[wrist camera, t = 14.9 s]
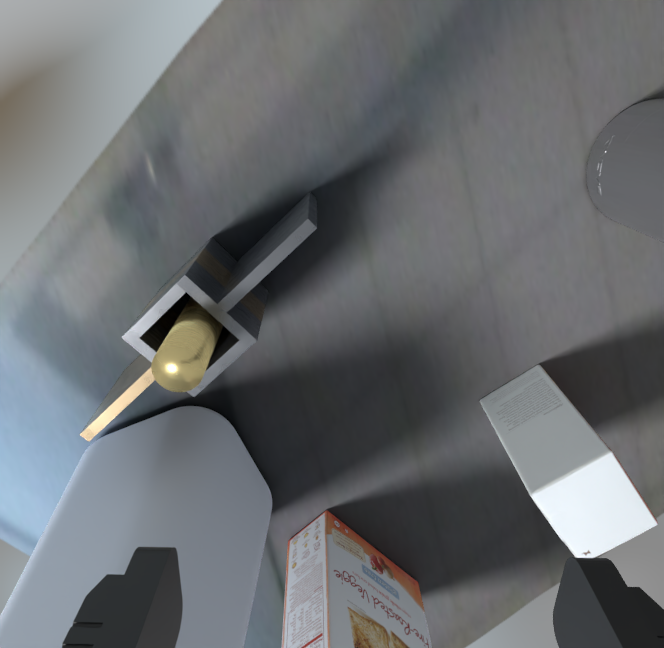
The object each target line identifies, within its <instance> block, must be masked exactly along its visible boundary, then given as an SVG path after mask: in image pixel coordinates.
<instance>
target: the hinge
mask: <svg viewBox="0 0 664 648" xmlns="http://www.w3.org/2000/svg"><path fill="white" fill-rule="evenodd" d="M316 229H317V199H316V198H315V197H314V196H313V195H312V194H311V192H309V193H308V194H307V195H306V196H305V197H304V198H303V199H302V200H301V201H299V202H298V203H297V204H296V205H295V206H294V207H293V208H292V209H291V210H290V211H289V212H288V213H287V214H286V215H285V216H284V217H283V218H282V219H281V220H280V221H279V222H278V223H277V224H276V225H275V226H273V227H272V228H271V229H270V230H269V231H268V232H267V233H266V234H265V235H264V236H263V237H262V238H261V239H260V240H259V241H258V242H257V243H256V244H255V245H254V246H253V247H252V248H251V249H250V250H249V251H248V252H246V253H245V254H244V255H243V256H242V257H241V258H240V259H239V260H238V261H237V260H235V259H234V258H233V257H232V256H231V255H230V254H229V253H228V252H227V251H226V250H225V249H224V248H223V247H222V246H221V245H220V244H219V243H218V242H217V241H216V240H215V239H214V238H211V239H210V240H209V241H208V242H207V243H206V244H205V245H204V246H203V247H202V248H201V249H200V250H199V251H198V252H197V253H196V254H195V255H194V256H193V257H192V258H191V259H190V260H189V261H188V262H187V263H186V264H185V265H184V266H183V267H182V268H181V269H180V270H179V271H178V272H177V273H176V274H175V275H173V276H172V277H171V278H170V279H169V280H168V281H167V282H166V283H165V284H164V285H163V286H162V287H161V288H160V290H159V291H158V292H157V293H156V295H155V296H154V297H153V298H152V300H151V301H150V302H149V304H148V305H147V306H146V307H145V309H144V310H143V311H142V312H141V314H140V315H139V316H138V317H137V319H136V320H135V321H134V322H133V324H132V325H131V326H130V328H129V329H128V330H127V331H126V333H125V334H124V335H123V336H122V338H123V339H124V340H125V341H126V342H127V343H129V344H130V345H131V346H132V347H133V348H135V349H136V350H137V351H138V352H139V353H141V355H140V356H138V357H137V358H136V359H135V360H134V361H133V362H132V363H131V364H130V365H129V366H128V367H127V368H126V369H125V370H124V371H123V373H122V374H121V376H120V377H119V378H118V380H117V381H116V383H115V384H114V386H113V387H112V389H111V390H110V391H109V393H108V394H107V396H106V397H105V399H104V400H103V402H102V403H101V404H100V406H99V407H98V409H97V410H96V412H95V413H94V415H93V416H92V418H91V419H90V420H89V422H88V423H87V425H86V426H85V428H84V429H83V431H82V432H81V433H80V435H81V436H82V437H83V438H85V439H86V440H87V441H90V440H91V439H92V438H93V437H94V436H95V435H97V434H98V433H99V432H100V431H101V430H102V429H103V428H104V427H105V426H106V425H107V424H108V423H109V422H110V421H112V420H113V419H114V418H115V417H116V416H117V415H118V414H119V413H120V412H121V411H122V410H123V409H124V408H125V407H126V406H128V405H129V404H130V403H131V402H132V401H133V400H134V399H135V398H136V397H137V396H138V395H139V394H140V393H141V392H143V391H144V390H145V389H146V388H147V387H148V386H149V385H150V384H151V383H152V382H153V381H154V380H155V378H154V376H153V374H152V370H151V364H152V360H153V358H154V356H155V354H156V353H157V351H158V350H159V348H160V346H161V345H162V343H163V341H164V340H165V338H166V337H167V335H168V333H169V332H170V330H171V328H172V327H173V325H174V323H175V322H176V320H177V319H178V317H179V315H180V314H181V312H182V310H183V309H184V307H185V306H186V304H187V302H188V301H187V300H186V299H185V298H184V297H183V295H184V294H185V293H186V292H187V293H188V294H189V295H190V296H191V297H192V298H193V299H194V300H196V301H197V302H198V303H199V304H200V305H201V306H202V307H203V308H204V309H206V310H207V311H208V312H209V313H210V314H211V315H212V316H213V317H214V318H216V319H217V320H218V321H219V322H220V323H221V324H222V325H223V328H222V330H221V333H220V335H219V338H218V341H217V343H216V346H215V348H214V351H213V353H212V356H211V358H210V361H209V363H208V366H207V368H206V371H205V373H204V376H203V378H202V380H201V382H200V383H199V385H198V386H196V387H195V388H194V389H192V390H190V391H187V392H188V393H189V394H190V395H192V396H193V397H195V396H196V395H197V394H198V393H199V392H200V391H201V390H203V389H204V388H205V387H206V386H207V385H208V384H209V383H210V382H211V381H213V380H214V379H215V378H216V377H217V376H218V375H219V374H220V373H221V372H223V371H224V370H225V369H226V368H227V367H228V366H229V365H230V364H232V363H233V362H234V361H235V360H236V359H237V358H238V357H239V356H240V355H242V354H243V353H244V352H245V351H246V350H247V349H248V348H249V347H250V346H252V345H253V344H254V343H255V342H256V341H257V339H258V334H259V330H260V326H261V322H262V318H263V313H264V309H265V305H266V301H267V297H268V292H269V291H268V290H267V289H266V288H265V287H264V286H263V285H262V284H261V283H260V281H261V280H262V279H263V278H264V277H265V276H267V275H268V274H269V273H270V272H271V271H272V270H273V269H274V268H275V267H276V266H277V265H278V264H279V263H280V262H281V261H283V260H284V259H285V258H286V257H287V256H288V255H289V254H290V253H291V252H292V251H293V250H294V249H295V248H296V247H298V246H299V245H300V244H301V243H302V242H303V241H304V240H305V239H306V238H307V237H308V236H309V235H310V234H311V233H312V232H314V231H315V230H316Z"/></svg>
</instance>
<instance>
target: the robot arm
mask: <svg viewBox="0 0 664 648" xmlns="http://www.w3.org/2000/svg"><path fill="white" fill-rule="evenodd" d="M586 179H587V188H588V191H589V194H590V197H591V200H592V201H593V203H594V204H595V206H596V207H597V209H598V210H599V211H600V212H602V213H603V214H604V215H605V216H606V217H608V218H610V219H612V220H614V221H616V222H618V223H620V224H623V225H625V226H627V227H629V228H632V229H634V230H636V231H638V232H640V233H643V234H645V235H647V236H650V237H652V238H654V239H657V240H659V241H661V242H663V243H664V99H653V100H647V101H643V102H640V103H638V104H635V105H633V106H631V107H629V108H628V109H626V110H624V111H623V112H621V113H620V114H618V115H617V116H616V117H615V118H614V119H613V120H612V121H611V122H609V123H608V124H607V126H606V127H605V128H604V130H603V131H602V132H601V133H600V135H599V136H598V138H597V140H596V142H595V144H594V146H593V147H592V150H591V153H590V156H589V159H588V163H587V172H586ZM182 611H183V599H182V590H181V581H180V571H179V562H178V554H177V550H176V548H175V547H138V548H137V549H136V550H135V551H134V553H133V556H132V558H131V560H130V562H129V565H128V567H127V569H126V572H125V574H124V575H121V574H107V575H106V576H105V577H104V578H103V579H102V580H101V581H100V582H99V583H98V584H97V585H96V586H95V587H94V588H93V589H92V590H91V591H90V592H89V593H88V594H87V595H86V597H85V599H84V601H83V603H82V605H81V607H80V609H79V611H78V613H77V615H76V617H75V619H74V621H73V626H72V627H70V629H69V631H68V633H67V635H66V637H65V639H64V641H63V643H62V648H175V646H176V642H177V639H178V635H179V631H180V626H181V620H182ZM553 625H554V632H555V636H556V640H557V643H558V646H559V648H664V609H662V608H661V607H660V606H659V605H658V604H657V603H656V602H655V601H654V600H653V599H652V598H650V597H649V596H648V595H647V594H646V593H645V592H644V591H643V590H642V589H641V588H640V587H627V585H626V584H625V582H624V580H623V578H622V577H621V575H620V574H619V572H618V570H617V568H616V567H615V565H614V564H613V563H612V561H610V560H609V559H607V558H568V559H567V561H566V563H565V567H564V571H563V574H562V578H561V582H560V586H559V590H558V594H557V598H556V602H555V606H554V611H553Z"/></svg>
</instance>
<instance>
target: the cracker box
mask: <svg viewBox="0 0 664 648" xmlns="http://www.w3.org/2000/svg"><path fill="white" fill-rule="evenodd" d="M282 648H432V644H431V639H430V635H429V631H428V626H427V621H426V616H425V612H424V607H423V602H422V598H421V593H420V589H419V584H418V582H417V581H416V580H415V579H413V578H412V577H411V576H409V575H408V574H407V573H406V572H404V571H403V570H402V569H401V568H399V567H398V566H397V565H395V564H394V563H393V562H392V561H390V560H389V559H388V558H387V557H385V556H384V555H383V554H382V553H380V552H379V551H378V550H377V549H375V548H374V547H373V546H371V545H370V544H369V543H368V542H366V541H365V540H364V539H363V538H361V537H360V536H359V535H358V534H356V533H355V532H354V531H353V530H351V529H350V528H349V527H348V526H346V525H345V524H344V523H343V522H341V521H340V520H339V519H338V518H336V517H335V516H334V515H333V514H331V513H330V512H329V511H327V510H326V511H325V512H324V513H322V514H321V515H320V516H319V517H317V518H316V519H315V520H314V521H312V522H311V523H310V524H309V525H307V526H306V527H305V528H304V529H302V530H301V531H300V532H299V533H297V534H296V535H295V536H294V537H292V538H291V539H290V540H289V541H288V551H287V569H286V585H285V602H284V617H283V635H282Z"/></svg>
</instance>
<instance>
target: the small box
mask: <svg viewBox="0 0 664 648" xmlns="http://www.w3.org/2000/svg"><path fill="white" fill-rule="evenodd" d="M480 403H481V405H482V407H483V409H484V411H485V413H486V414H487V416H488V418H489V420H490V422H491V424H492V425H493V427H494V429H495V431H496V433H497V435H498V437H499V439H500V441H501V443H502V444H503V446H504V448H505V450H506V452H507V454H508V455H509V457H510V459H511V461H512V463H513V465H514V466H515V468H516V470H517V472H518V474H519V476H520V478H521V480H522V481H523V483H524V485H525V487H526V489H527V491H528V492H529V494H530V496H531V498H532V499H533V501H534V502H535V503H536V505H537V506H538V508H539V509H540V510H541V512H542V513H543V515H544V516H545V517H546V519H547V520H548V522H549V523H550V525H551V526H552V527H553V529H554V530H555V532H556V533H557V534H558V536H559V537H560V539H561V540H562V541H563V542H564V543H565V544H566V545H567V547H568V548H569V549H570V551H571V552H572V553H573V555H574V556H575V557H576V558H594V557H597V556H599V555H601V554H603V553H605V552H607V551H608V550H610V549H612V548H614V547H616V546H618V545H620V544H622V543H624V542H626V541H628V540H630V539H631V538H633V537H635V536H637V535H639V534H641V533H643V532H645V531H647V530H648V529H650V528H652V527H654V526H656V525H657V524H658V522H657V520H656V518H655V517H654V515H653V513H652V512H651V510H650V509H649V507H648V506H647V504H646V502H645V501H644V499H643V498H642V496H641V495H640V493H639V491H638V490H637V488H636V487H635V485H634V484H633V482H632V480H631V479H630V477H629V476H628V474H627V473H626V471H625V470H624V468H623V467H622V465H621V463H620V462H619V460H618V459H617V457H616V456H615V454H614V453H613V451H612V450H611V449H610V448H609V447H608V446H607V445H606V444H605V443H604V441H603V440H602V439H601V438H600V436H599V435H598V434H597V433H596V432H595V431H594V429H593V428H592V427H591V426H590V425H589V423H588V422H587V421H586V420H585V418H584V417H583V416H582V415H581V414H580V413H579V411H578V410H577V409H576V408H575V407H574V405H573V404H572V403H571V402H570V400H569V399H568V398H567V397H566V396H565V395H564V394H563V392H562V391H561V390H560V389H559V387H558V386H557V385H556V384H555V382H554V381H553V380H552V379H551V378H550V376H549V375H548V374H547V373H546V371H545V370H544V369H543V368H542V367H541V365H536V366H535V367H533V368H531V369H530V370H528V371H526V372H525V373H523V374H521V375H520V376H518V377H517V378H515V379H513V380H512V381H510V382H508V383H507V384H505V385H503V386H502V387H500V388H498V389H497V390H495V391H493V392H492V393H490V394H489V395H487V396H485V397H484V398H482V399H481V400H480Z"/></svg>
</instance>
